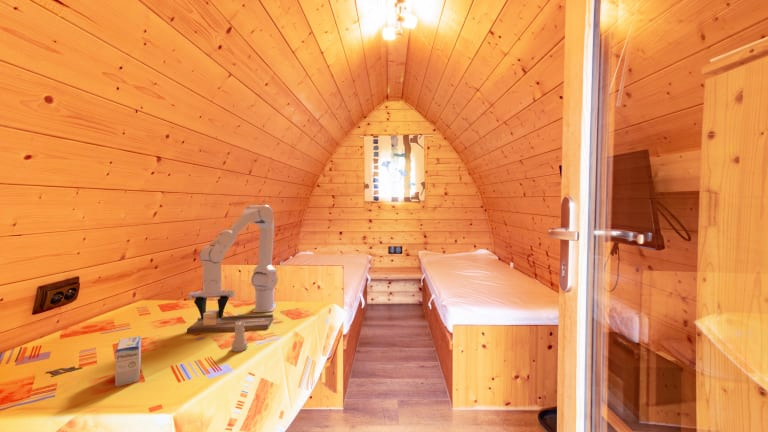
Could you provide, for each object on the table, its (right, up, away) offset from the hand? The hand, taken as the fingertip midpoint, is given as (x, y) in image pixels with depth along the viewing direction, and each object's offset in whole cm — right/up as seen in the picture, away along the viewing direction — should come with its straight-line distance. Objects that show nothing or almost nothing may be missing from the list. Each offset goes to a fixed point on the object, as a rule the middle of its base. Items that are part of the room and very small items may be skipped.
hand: (212, 317), depth 112 cm
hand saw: (-15, -4, -25) cm, 30 cm away
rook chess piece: (+18, -3, -19) cm, 26 cm away
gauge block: (0, -2, 0) cm, 2 cm away
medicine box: (-1, -3, -35) cm, 35 cm away
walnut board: (+7, -3, +1) cm, 8 cm away
